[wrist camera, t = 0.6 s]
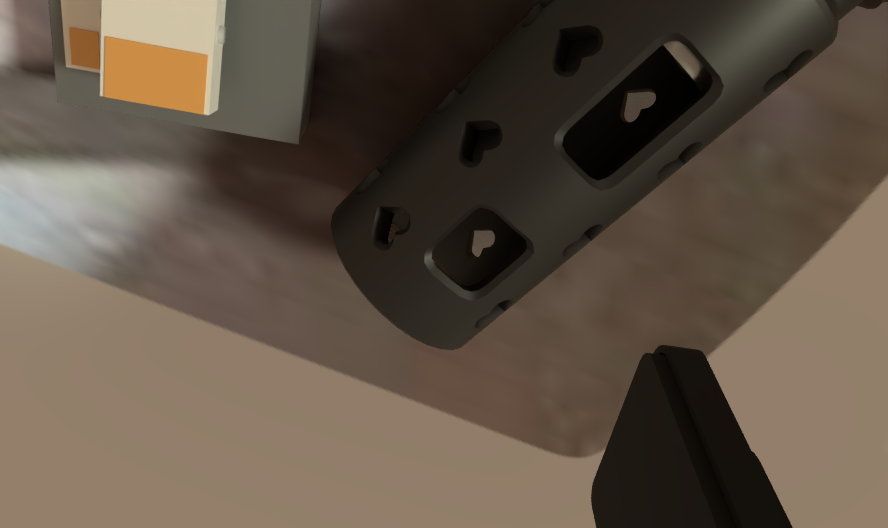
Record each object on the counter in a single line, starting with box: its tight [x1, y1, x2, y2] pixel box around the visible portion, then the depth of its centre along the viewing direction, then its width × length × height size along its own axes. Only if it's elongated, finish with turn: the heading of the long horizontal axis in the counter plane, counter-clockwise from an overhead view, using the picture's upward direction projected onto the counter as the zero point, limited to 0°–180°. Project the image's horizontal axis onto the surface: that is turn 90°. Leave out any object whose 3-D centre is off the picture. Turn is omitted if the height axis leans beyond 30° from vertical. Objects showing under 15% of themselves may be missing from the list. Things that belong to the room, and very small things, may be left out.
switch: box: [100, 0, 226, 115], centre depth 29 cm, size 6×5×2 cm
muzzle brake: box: [331, 0, 888, 350], centre depth 30 cm, size 10×28×10 cm, turn 136°
